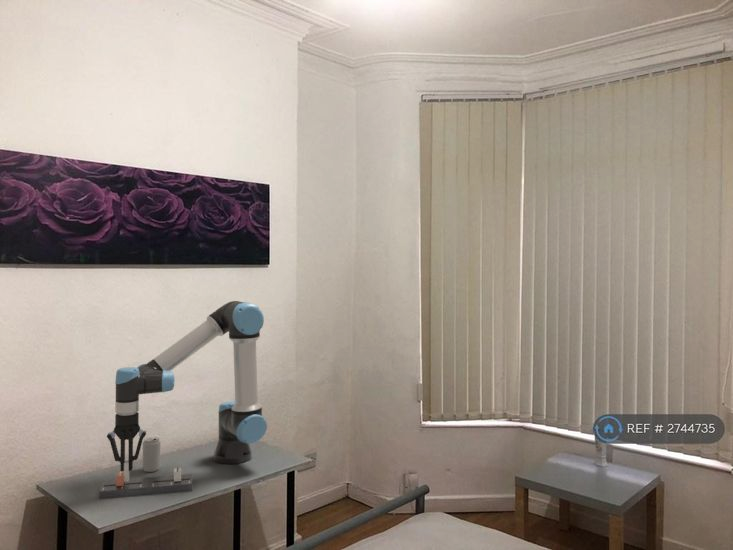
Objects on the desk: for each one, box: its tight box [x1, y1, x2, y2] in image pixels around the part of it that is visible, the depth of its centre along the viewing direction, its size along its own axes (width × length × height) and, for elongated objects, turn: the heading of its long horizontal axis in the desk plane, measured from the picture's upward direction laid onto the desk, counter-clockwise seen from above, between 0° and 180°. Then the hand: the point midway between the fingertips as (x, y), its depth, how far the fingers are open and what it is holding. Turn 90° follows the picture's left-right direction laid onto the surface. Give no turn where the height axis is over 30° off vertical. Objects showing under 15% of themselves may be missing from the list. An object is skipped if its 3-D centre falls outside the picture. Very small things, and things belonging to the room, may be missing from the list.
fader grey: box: [173, 466, 182, 482], centre depth 214 cm, size 2×4×4 cm, turn 16°
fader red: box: [115, 471, 125, 486], centre depth 209 cm, size 2×4×4 cm, turn 16°
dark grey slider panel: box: [98, 473, 193, 500], centre depth 211 cm, size 30×10×3 cm, turn 106°
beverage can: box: [142, 436, 161, 473], centre depth 231 cm, size 6×6×12 cm
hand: (126, 480), depth 209 cm, fingers closed
